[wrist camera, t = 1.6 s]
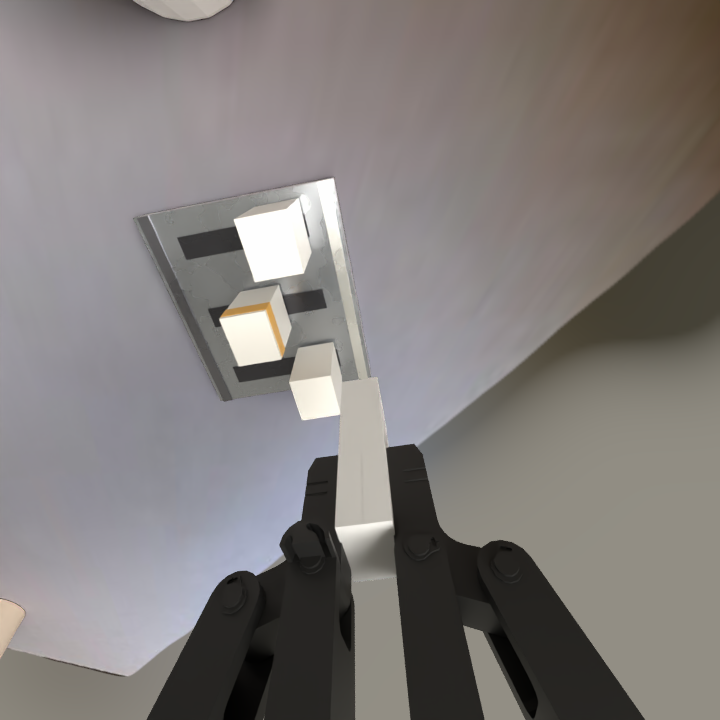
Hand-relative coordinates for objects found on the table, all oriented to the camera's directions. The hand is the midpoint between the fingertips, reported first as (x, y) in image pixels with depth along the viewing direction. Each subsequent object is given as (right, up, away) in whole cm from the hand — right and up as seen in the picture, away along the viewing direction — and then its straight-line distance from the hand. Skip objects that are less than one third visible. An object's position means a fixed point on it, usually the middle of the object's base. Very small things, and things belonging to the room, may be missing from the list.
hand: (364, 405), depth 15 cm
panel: (-8, +7, +14) cm, 18 cm away
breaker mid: (-8, +6, +12) cm, 15 cm away
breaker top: (-6, +11, +9) cm, 15 cm away
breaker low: (-4, +2, +15) cm, 15 cm away
